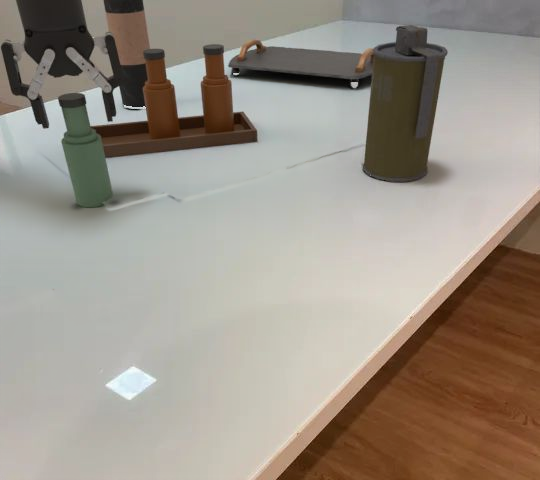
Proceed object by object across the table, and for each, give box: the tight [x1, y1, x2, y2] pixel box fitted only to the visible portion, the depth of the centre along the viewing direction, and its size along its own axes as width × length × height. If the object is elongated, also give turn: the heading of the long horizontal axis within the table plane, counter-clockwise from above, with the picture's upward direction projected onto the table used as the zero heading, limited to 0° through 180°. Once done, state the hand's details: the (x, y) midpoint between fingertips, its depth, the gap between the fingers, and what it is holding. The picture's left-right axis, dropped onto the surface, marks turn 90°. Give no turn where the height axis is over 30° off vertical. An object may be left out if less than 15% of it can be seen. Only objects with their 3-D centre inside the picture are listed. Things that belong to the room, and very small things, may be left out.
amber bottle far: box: [200, 43, 234, 134], centre depth 98 cm, size 5×5×14 cm
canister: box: [362, 24, 449, 183], centre depth 84 cm, size 11×10×20 cm
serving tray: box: [227, 38, 374, 82], centre depth 137 cm, size 39×23×6 cm, turn 64°
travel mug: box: [102, 0, 151, 107], centre depth 114 cm, size 8×8×20 cm
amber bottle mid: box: [143, 48, 180, 140], centre depth 97 cm, size 5×5×14 cm
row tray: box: [90, 111, 258, 159], centre depth 101 cm, size 32×12×3 cm, turn 104°
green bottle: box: [57, 92, 114, 208], centre depth 79 cm, size 5×5×14 cm
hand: (78, 123), depth 76 cm, fingers open, 8 cm apart
